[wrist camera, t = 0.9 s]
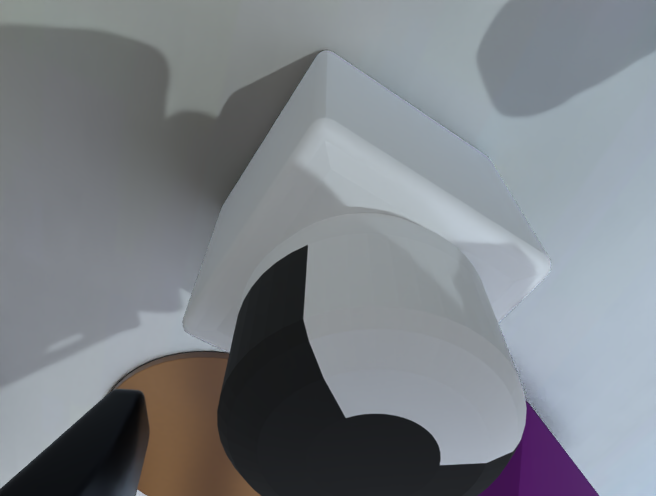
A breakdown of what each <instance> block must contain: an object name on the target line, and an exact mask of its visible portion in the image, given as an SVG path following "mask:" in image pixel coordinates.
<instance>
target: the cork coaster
mask: <svg viewBox="0 0 656 496" xmlns="http://www.w3.org/2000/svg"><path fill="white" fill-rule="evenodd" d="M228 358H229V353H220V352H191V353H181V354H176V355H171V356H167V357H163V358H160V359H157V360H154V361H151V362H149V363H147V364H145V365H143V366H141V367H139V368H137V369H136V370H134V371H133V372H131V373H130V374H128V375H127V376H126V377H125V378H124V379H122V380H121V381H120V382H119V383H118V384H117V385H116V387H115V388H114V389H113V390H115V389H133V390H140V391H142V392H143V394H144V396H145V401H146V407H147V414H148V420H149V427H150V435H149V442H148V447H147V451H146V455H145V459H144V463H143V467H142V471H141V476H140V480H139V484H138V488H137V489H138V490H139V491H141V492H142V493H144V494H145V495H147V496H261V495H260V494H258V493H257V492H256V491H255V490H254V489H253V488H252V487H251V486H250V485H249V484H248V483H247V482H246V481H245V480H244V478H243V477H242V476H241V475H240V474H239V472H238V471H237V470H236V469H235V468H234V466H233V465H232V463H231V461H230V460H229V458H228V457H227V455H226V453H225V451H224V448H223V446H222V444H221V441H220V437H219V432H218V427H217V409H218V404H219V399H220V394H221V389H222V385H223V380H224V376H225V371H226V367H227V362H228ZM113 390H112V391H113Z"/></svg>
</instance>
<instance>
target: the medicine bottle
mask: <svg viewBox="0 0 656 496" xmlns="http://www.w3.org/2000/svg"><path fill="white" fill-rule="evenodd" d="M550 271H551V260H550V258H549V256H548V255H547V253H546V251H545V250H544V248H543V246H542V245H541V243H540V241H539V240H538V238H537V236H536V235H535V233H534V231H533V230H532V228H531V226H530V225H529V223H528V221H527V220H526V218H525V216H524V215H523V213H522V211H521V210H520V208H519V206H518V205H517V203H516V201H515V200H514V198H513V196H512V194H511V193H510V191H509V189H508V188H507V186H506V184H505V183H504V181H503V179H502V178H501V176H500V174H499V173H498V171H497V169H496V168H495V166H494V164H493V163H492V161H491V160H490V158H489V157H488V156H486V155H485V154H483V153H482V152H480V151H479V150H477V149H476V148H475V147H473V146H472V145H470V144H469V143H467V142H466V141H464V140H463V139H461V138H460V137H458V136H457V135H455V134H454V133H452V132H451V131H449V130H448V129H446V128H445V127H443V126H442V125H440V124H439V123H437V122H436V121H435V120H433V119H432V118H430V117H429V116H427V115H426V114H424V113H423V112H421V111H420V110H418V109H417V108H415V107H414V106H412V105H411V104H409V103H408V102H406V101H405V100H403V99H402V98H400V97H399V96H397V95H396V94H395V93H393V92H392V91H390V90H389V89H387V88H386V87H384V86H383V85H381V84H380V83H378V82H377V81H375V80H374V79H372V78H371V77H369V76H368V75H366V74H365V73H363V72H362V71H360V70H359V69H357V68H356V67H355V66H353V65H352V64H350V63H349V62H347V61H346V60H344V59H343V58H341V57H340V56H338V55H337V54H335V53H334V52H331V51H328V50H326V51H321V52H320V53H319V54H318V55H317V56H316V58H315V59H314V61H313V62H312V64H311V66H310V67H309V69H308V70H307V72H306V74H305V75H304V77H303V78H302V80H301V82H300V83H299V85H298V86H297V88H296V89H295V91H294V93H293V94H292V96H291V97H290V99H289V101H288V102H287V104H286V105H285V107H284V109H283V110H282V112H281V113H280V115H279V117H278V118H277V120H276V121H275V123H274V125H273V126H272V128H271V129H270V131H269V133H268V134H267V136H266V137H265V139H264V140H263V142H262V144H261V145H260V147H259V148H258V150H257V152H256V153H255V155H254V156H253V158H252V160H251V161H250V163H249V164H248V166H247V168H246V169H245V171H244V172H243V174H242V176H241V177H240V179H239V180H238V182H237V183H236V185H235V187H234V188H233V190H232V191H231V193H230V195H229V196H228V198H227V199H226V201H225V203H224V204H223V206H222V208H221V211H220V214H219V216H218V219H217V222H216V225H215V228H214V231H213V234H212V237H211V239H210V242H209V245H208V248H207V251H206V254H205V257H204V260H203V262H202V265H201V268H200V271H199V274H198V277H197V280H196V283H195V286H194V288H193V291H192V294H191V297H190V300H189V303H188V306H187V309H186V311H185V314H184V318H183V328H184V330H185V331H186V332H187V333H188V334H190V335H192V336H194V337H196V338H198V339H200V340H202V341H204V342H207V343H209V344H211V345H213V346H215V347H217V348H219V349H221V350H224V351H226V352H228V353H229V358H228V362H227V367H226V371H225V376H224V380H223V385H222V389H221V394H220V399H219V404H218V409H217V427H218V432H219V437H220V441H221V444H222V446H223V448H224V451H225V453H226V455H227V457H228V458H229V460H230V461H231V463H232V465H233V466H234V468H235V469H236V470H237V471H238V472H239V474H240V475H241V476H242V477H243V478H244V480H245V481H246V482H247V483H248V484H249V485H250V486H251V487H252V488H253V489H254V490H255V491H256V492H257V493H258V494H260V495H261V496H478V495H479V494H480V493H482V492H483V491H484V490H485V489H487V488H488V487H489V486H490V485H491V484H492V483H493V482H494V481H495V480H496V478H497V477H498V476H499V475H500V474H501V472H502V471H503V469H504V468H505V467H506V465H507V464H508V462H509V461H510V459H511V458H512V456H513V454H514V453H515V451H516V449H517V447H518V445H519V443H520V440H521V438H522V434H523V431H524V427H525V423H526V410H527V408H526V400H525V393H524V390H523V387H522V384H521V381H520V379H519V376H518V373H517V371H516V368H515V366H514V363H513V360H512V358H511V355H510V353H509V350H508V348H507V345H506V342H505V340H504V337H503V335H502V332H501V329H500V327H499V323H500V322H501V321H502V320H503V319H504V318H505V317H506V316H507V315H508V314H509V313H510V312H511V311H512V310H513V309H514V308H515V307H516V306H517V305H518V304H519V303H520V302H521V301H522V300H523V299H524V298H525V297H526V296H527V295H528V294H529V293H530V292H531V291H533V290H534V289H535V288H536V287H537V286H538V285H539V284H540V283H541V282H542V281H543V280H544V279H545V278H546V277H547V276H548V275H549V273H550Z"/></svg>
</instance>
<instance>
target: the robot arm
mask: <svg viewBox="0 0 656 496" xmlns="http://www.w3.org/2000/svg"><path fill="white" fill-rule="evenodd" d="M149 435H150V427H149V420H148V414H147V407H146V401H145V396H144V394H143V392H142V391H140V390H133V389H115V390H113V391H111V392H110V393H109V394H108V395H106V396H105V397H104V398H103V399H102V400H101V401H100V402H98V403H97V404H96V405H95V406H94V407H93V408H92V409H90V410H89V411H88V412H87V413H86V414H85V415H84V416H83V417H81V418H80V419H79V420H78V421H77V422H76V423H75V424H73V425H72V426H71V427H70V428H69V429H68V430H67V431H66V432H64V433H63V434H62V435H61V436H60V437H59V438H58V439H56V440H55V441H54V442H53V443H52V444H51V445H50V446H49V447H47V448H46V449H45V450H44V451H43V452H42V453H41V454H39V455H38V456H37V457H36V458H35V459H34V460H33V461H31V462H30V463H29V464H28V465H27V466H26V467H25V468H24V469H22V470H21V471H20V472H19V473H18V474H17V475H16V476H14V477H13V478H12V479H11V480H10V481H9V482H8V483H7V484H5V485H4V486H3V487H2V488H1V489H0V496H136V492H137V488H138V484H139V480H140V476H141V471H142V467H143V463H144V459H145V455H146V451H147V447H148V442H149Z"/></svg>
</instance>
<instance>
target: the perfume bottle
mask: <svg viewBox="0 0 656 496" xmlns="http://www.w3.org/2000/svg"><path fill="white" fill-rule="evenodd" d="M526 408H527V410H526V423H525V427H524V431H523V434H522V438H521V440H520V443H519V445H518V447H517V449H516V451H515V453H514V454H513V456H512V458H511V459H510V461H509V462H508V464H507V465H506V467H505V468H504V469H503V471H502V472H501V474H500V475H499V476H498V477H497V478H496V480H495V481H494V482H493V483H492V484H491V485H490V486H489V487H488V488H487V489H485V490H484V491H483V492H482V493H480V494H479V495H478V496H599V495H598V493H597V492H596V491H595V489H594V488H593V487H592V486H591V484H590V483H589V482H588V480H587V479H586V478H585V476H584V475H583V474H582V472H581V471H580V470H579V469H578V467H577V466H576V465H575V463H574V462H573V461H572V459H571V458H570V457H569V455H568V454H567V453H566V451H565V450H564V449H563V448H562V446H561V445H560V444H559V442H558V441H557V440H556V438H555V437H554V436H553V434H552V433H551V432H550V430H549V429H548V428H547V427H546V425H545V424H544V423H543V421H542V420H541V419H540V417H539V416H538V415H537V413H536V412H535V411H534V410H533V408H532V407H531V406H530V404H529V403H528V402H527V401H526Z"/></svg>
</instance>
